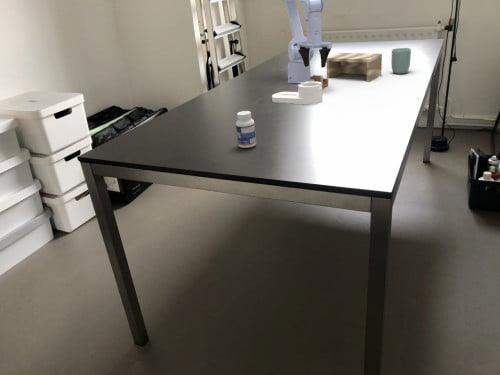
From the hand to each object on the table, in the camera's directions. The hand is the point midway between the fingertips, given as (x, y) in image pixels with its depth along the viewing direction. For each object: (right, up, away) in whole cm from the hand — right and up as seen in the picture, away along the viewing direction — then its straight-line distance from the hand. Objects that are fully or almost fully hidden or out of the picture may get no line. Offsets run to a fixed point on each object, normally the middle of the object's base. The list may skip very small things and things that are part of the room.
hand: (315, 66), depth 177 cm
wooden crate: (+20, 0, +17) cm, 26 cm away
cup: (+40, +1, +16) cm, 43 cm away
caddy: (+1, -8, +4) cm, 10 cm away
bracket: (-8, -15, -8) cm, 19 cm away
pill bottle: (-27, -36, -46) cm, 64 cm away
